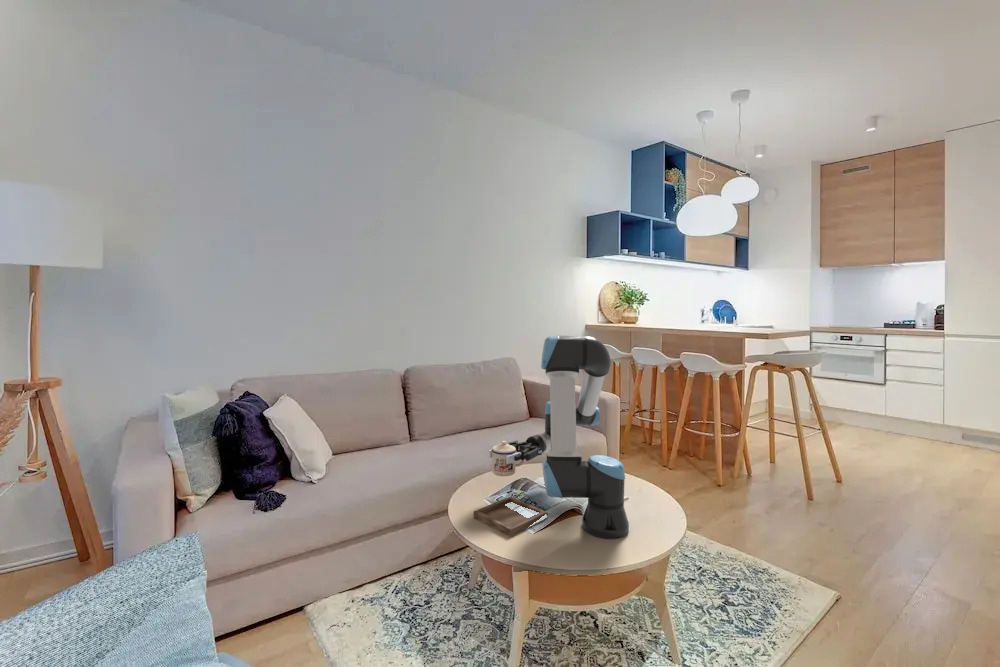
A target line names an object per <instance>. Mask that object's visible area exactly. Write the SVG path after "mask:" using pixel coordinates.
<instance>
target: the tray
mask: <svg viewBox="0 0 1000 667" xmlns="http://www.w3.org/2000/svg"><path fill="white" fill-rule="evenodd" d="M509 502H513V503H515V504H517V505H520V506H522V507H525V508H528V509H531V510H534V511H536V512H539V514H537V515H534V516H532V517H530V518H526V517H524V516H523V515H521V514H519V513H518V512H517V511H514V510H511V509H510V508H508V507H507V506H505V504H507V503H509ZM546 513H547V514H548V511H546V510H543V509H541V508H539V507H536V506H533V505H532V504H529V503H527V502H525V501H522V500H520V499H517V498H516V497H512V496H508V497H505V498H502V499H500V500H498V501H496V502H493V503H491V504H488V505H486V506H483V507H481V508H478V509H476V510H473V519H475V520H477V521H478V522H480V523H483V524H485V525H487V526H488V527H489V526H490V527H491V528H493V529H495V530H497V531H499V532H501V533H503V534H505V535H506V536H509V537H510V536H511V537H513V536H515V535H517V534H519V533H521V532H523V531H525V530H528V529H529V528H530V527H529V526H530V525H532V524H533V523H534V522H536V521H537V520H539V519H540V518H541V517H542V516H544V515H545V514H546ZM528 527H529V528H528Z"/></svg>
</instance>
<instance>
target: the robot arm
mask: <svg viewBox="0 0 1000 667" xmlns="http://www.w3.org/2000/svg"><path fill="white" fill-rule="evenodd" d="M611 363H612V361H611V355H610V353H609V350H608V349H607V347H606V346H605V345H604V343H603V342H602V341H600V340H599V339H597V338H596V337H594V336H590V335H582V336H581V335H559V334H558V335H551V336H547V337H546V338H545V339H544V342H543V347H542V354H541V365H540V367H541V369H542V370H545V375H546V377H547V378H549V401H547V402H546V403H545V411H544V432H542V433H538V434H535V435H531V436H529V437H527V438H526V440H525V441H522V442H519V441H518V440H514V441H510V442H507V444H509V445H512V446H514V447H515V448H516V453H515V454H512V455H509V456H506V464H510V463H513V462H515V463H517V462H518V461H520V460H521V461H522V460H524V461H527V462H529V461H531V460H532V459H535V458H536V457H538V456H542V455H543V454H545V453H546V452H548V453H547V454H546V459H544V460H543V461H542V462H541V465H542V475H543V476H542V477H543V482H544V487H545V491H546V494H547V496H549V497H550V498H559V499H563V498H565V499H566V498H570V499H571V498H574V499H575V498H577V499H587V504H586V507H585V510H584V512H583V516H582V518H581V519H582V520H581V522H582V523H581V525H582V529H583V530H584V531H585V532H586V533H587V534H590V535H591V536H595V537H597V538H601V537H603V538H602V539H618V537H620V538H623V537H625V536H626V535H627V534H628V533H629V531H630V530H629V529H630V522H629V521H628V516H627V513H626V510H625V479H626V474H625V465H624V464H623V463H622V462H621V461H619V459H616V458H614V457H610V456H608V455H603V454H594V455H593V454H592V455H590V456H588V459H587V460H583V459H582V457H583V456H582V454H581V453H580V452H579V451H578V448H577V447H578V446H577V445H578V444H577V426H589V427H590V426H598V425H599V424H600V421H601V412H600V408H599V407H598V403H599V401H600V397H601V396H600V395H601V392H602V388H603V385H604V381H605V377H606V376H607V375H608V374H609V372H610V369H611V366H612V365H611ZM580 370H583V371H584V372H583V377H582V382H581V387H580V391H579V392H580V393H579V397H578V402H577V405H576V378H577V377H578V376H580ZM520 453H521V454H520ZM488 458H489V459H492V449H489V450H488ZM624 535H625V536H624ZM622 536H623V537H622Z"/></svg>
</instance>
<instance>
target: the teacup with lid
mask: <svg viewBox="0 0 1000 667" xmlns="http://www.w3.org/2000/svg"><path fill="white" fill-rule="evenodd" d="M507 443H508V442H507V440H502V441H501V442H500V443H499V444H496V445H494V446H493V447H492V448H491V450H492V458H491V459H492V460H491V462H492V464H491V473H492V474H493V475H495V476H497V477H498V476H499V477H510V476H513V475H514V474H515V473H516V467H521V466H522V465H523V464H524V462H525V459H524V460H521V461H520V463H517V464H516V462H513V463H510V464H506V456H509V455H512V454H515V453H517V452H516V448H515V447H514V446H512V445H509V444H507ZM520 454H521V452H520Z"/></svg>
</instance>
